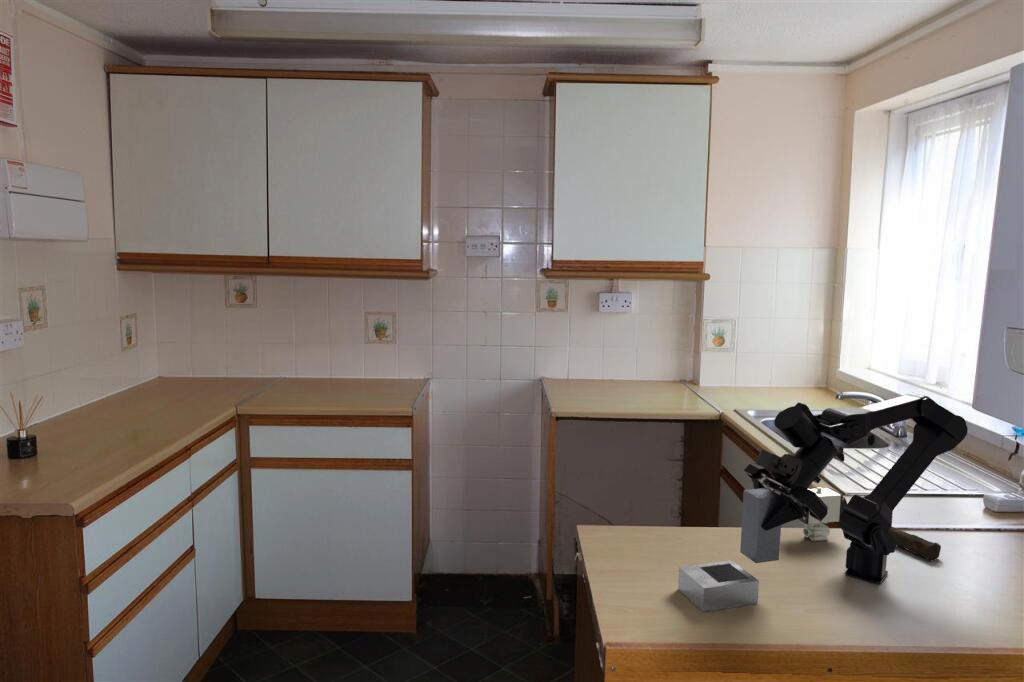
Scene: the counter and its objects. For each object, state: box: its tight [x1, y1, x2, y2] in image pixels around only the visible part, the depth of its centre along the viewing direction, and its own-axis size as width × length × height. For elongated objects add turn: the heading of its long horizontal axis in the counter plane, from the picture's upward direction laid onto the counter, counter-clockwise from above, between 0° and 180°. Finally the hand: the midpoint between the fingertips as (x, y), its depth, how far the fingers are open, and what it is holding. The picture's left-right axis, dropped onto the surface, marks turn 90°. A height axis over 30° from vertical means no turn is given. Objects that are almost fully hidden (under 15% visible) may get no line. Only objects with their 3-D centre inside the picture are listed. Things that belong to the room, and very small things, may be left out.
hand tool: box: [888, 525, 942, 562], centre depth 159 cm, size 19×4×5 cm, turn 23°
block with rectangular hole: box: [677, 559, 760, 613], centre depth 134 cm, size 12×9×4 cm
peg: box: [739, 488, 782, 564], centre depth 135 cm, size 5×5×12 cm
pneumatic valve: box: [798, 486, 848, 543], centre depth 161 cm, size 6×12×12 cm, turn 101°
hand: (755, 523), depth 135 cm, fingers closed on peg, 5 cm apart
